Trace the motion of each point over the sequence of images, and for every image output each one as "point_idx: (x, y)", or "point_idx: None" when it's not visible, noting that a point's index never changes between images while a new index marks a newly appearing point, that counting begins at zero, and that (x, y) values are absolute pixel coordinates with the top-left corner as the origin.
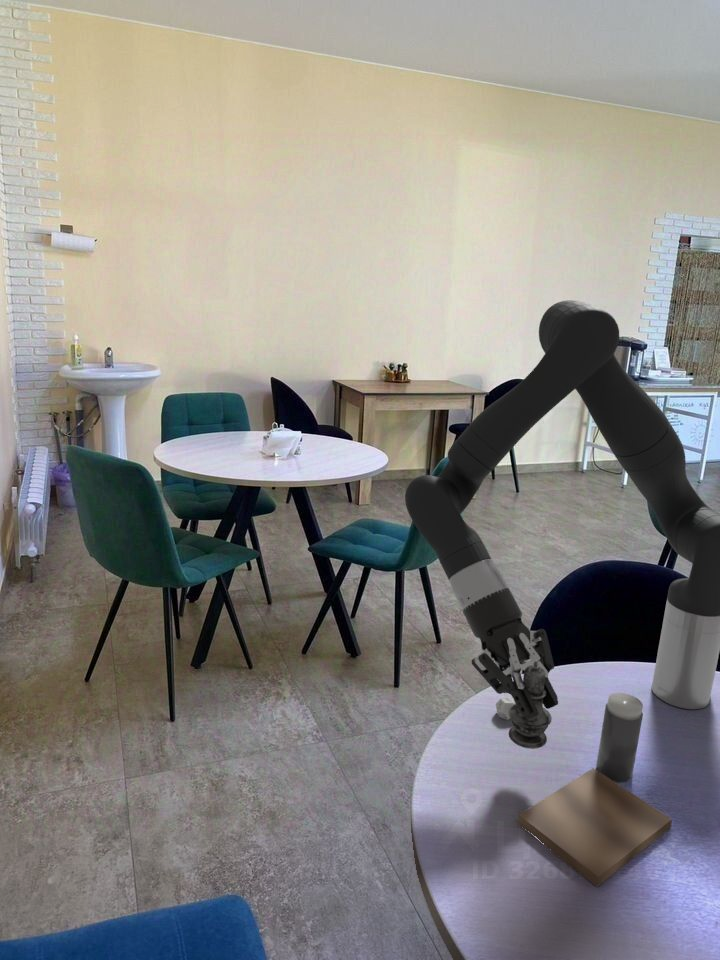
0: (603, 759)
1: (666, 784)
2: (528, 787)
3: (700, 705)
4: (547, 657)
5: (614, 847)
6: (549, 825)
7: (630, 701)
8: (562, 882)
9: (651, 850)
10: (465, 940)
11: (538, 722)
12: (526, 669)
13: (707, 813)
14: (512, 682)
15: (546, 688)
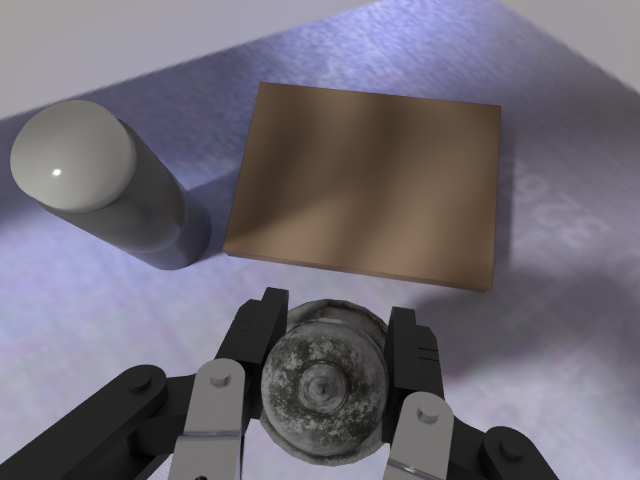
0: (194, 234)
1: (146, 144)
2: None
3: None
4: (108, 421)
5: (413, 117)
6: (464, 226)
7: (52, 139)
8: (533, 160)
9: None
10: None
11: (358, 324)
12: (360, 432)
13: (177, 69)
14: (456, 456)
15: (270, 338)
